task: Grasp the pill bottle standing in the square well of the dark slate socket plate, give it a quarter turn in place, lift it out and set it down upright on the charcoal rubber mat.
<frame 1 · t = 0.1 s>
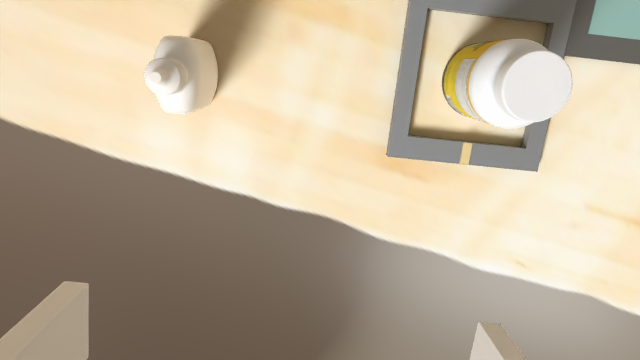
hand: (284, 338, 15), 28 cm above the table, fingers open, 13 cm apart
eye dropper bottle: (199, 73, 40), on the table
pill bottle: (474, 80, 41), resting in socket plate
mat: (626, 2, 40), on the table
socket plate: (475, 80, 41), on the table
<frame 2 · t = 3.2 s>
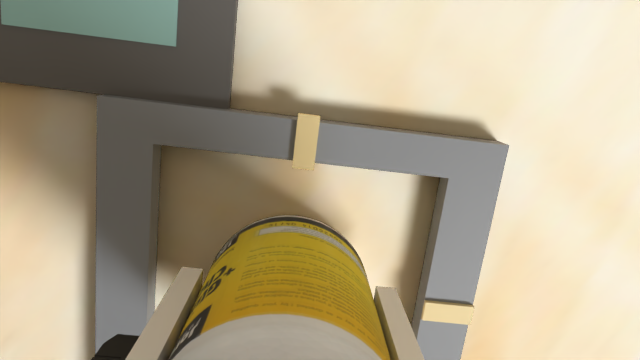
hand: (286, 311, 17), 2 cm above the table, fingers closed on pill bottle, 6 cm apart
pill bottle: (288, 281, 19), resting in socket plate, touching gripper
socket plate: (288, 283, 19), on the table
when the fingers open (4 cm above the table, at t = 8.9 s): pill bottle drops 1 cm, resting on mat.
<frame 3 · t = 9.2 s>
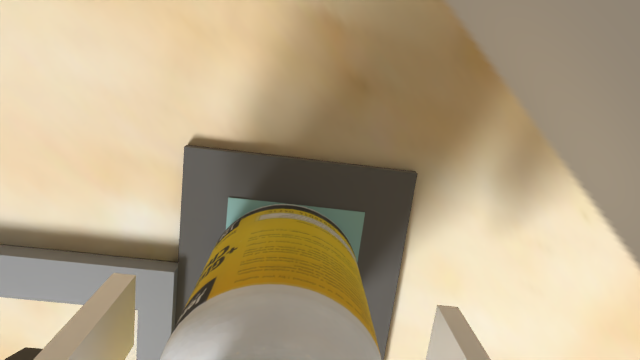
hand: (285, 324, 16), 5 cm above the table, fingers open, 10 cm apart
pill bottle: (284, 266, 21), resting on mat
mat: (290, 263, 21), on the table
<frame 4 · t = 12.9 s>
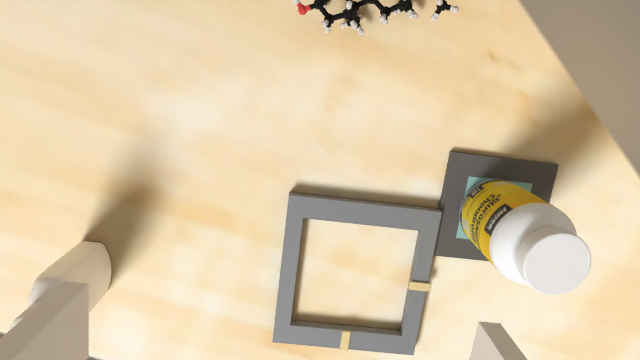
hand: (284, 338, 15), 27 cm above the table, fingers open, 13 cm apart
eye dropper bottle: (95, 266, 43), on the table
pill bottle: (490, 210, 43), resting on mat
mat: (491, 209, 43), on the table
socket plate: (353, 274, 44), on the table
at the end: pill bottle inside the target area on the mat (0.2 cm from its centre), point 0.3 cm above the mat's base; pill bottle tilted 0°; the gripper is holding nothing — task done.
